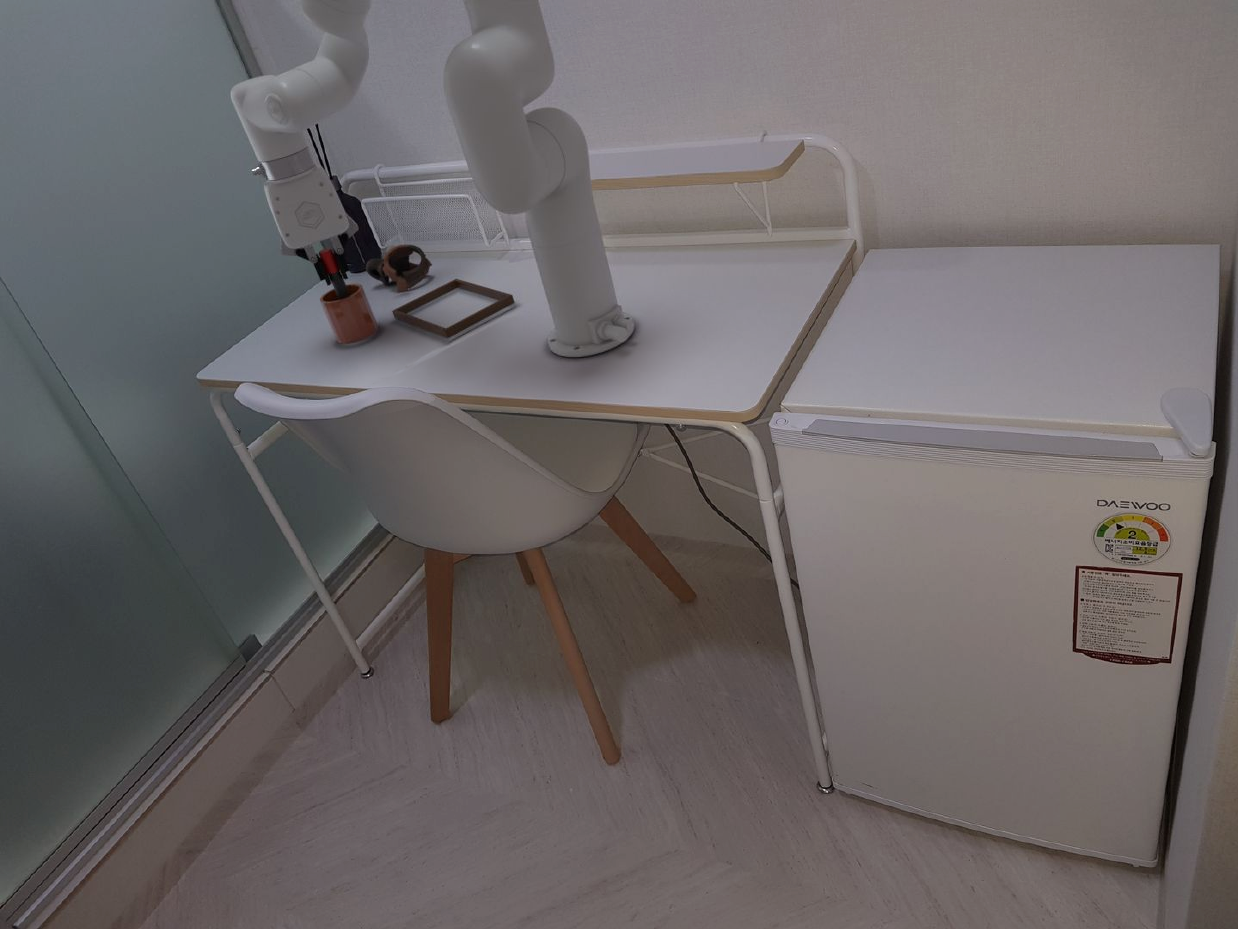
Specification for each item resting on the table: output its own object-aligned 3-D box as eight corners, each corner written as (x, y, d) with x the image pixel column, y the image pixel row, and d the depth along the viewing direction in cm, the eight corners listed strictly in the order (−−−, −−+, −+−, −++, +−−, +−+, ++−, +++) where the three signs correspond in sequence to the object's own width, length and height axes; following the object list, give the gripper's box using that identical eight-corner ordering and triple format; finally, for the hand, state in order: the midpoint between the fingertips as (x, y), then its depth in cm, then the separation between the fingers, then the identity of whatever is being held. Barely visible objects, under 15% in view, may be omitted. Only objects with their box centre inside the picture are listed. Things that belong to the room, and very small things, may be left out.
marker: (365, 326, 151) (333, 248, 144) (354, 331, 150) (321, 253, 143) (360, 323, 152) (327, 247, 145) (349, 329, 151) (316, 252, 144)
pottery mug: (437, 270, 173) (432, 239, 165) (432, 310, 168) (427, 279, 161) (372, 268, 172) (364, 237, 165) (366, 308, 167) (357, 277, 160)
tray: (516, 306, 148) (512, 294, 147) (449, 342, 142) (444, 330, 141) (460, 289, 160) (456, 278, 159) (396, 322, 154) (391, 310, 153)
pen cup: (387, 332, 151) (369, 287, 147) (350, 350, 148) (331, 305, 144) (368, 324, 156) (350, 280, 152) (331, 342, 153) (312, 298, 149)
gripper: (236, 187, 132) (289, 304, 142) (343, 152, 135) (388, 269, 145) (235, 178, 138) (287, 290, 148) (337, 145, 141) (381, 257, 151)
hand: (336, 278), depth 146 cm, fingers closed on marker, 2 cm apart
